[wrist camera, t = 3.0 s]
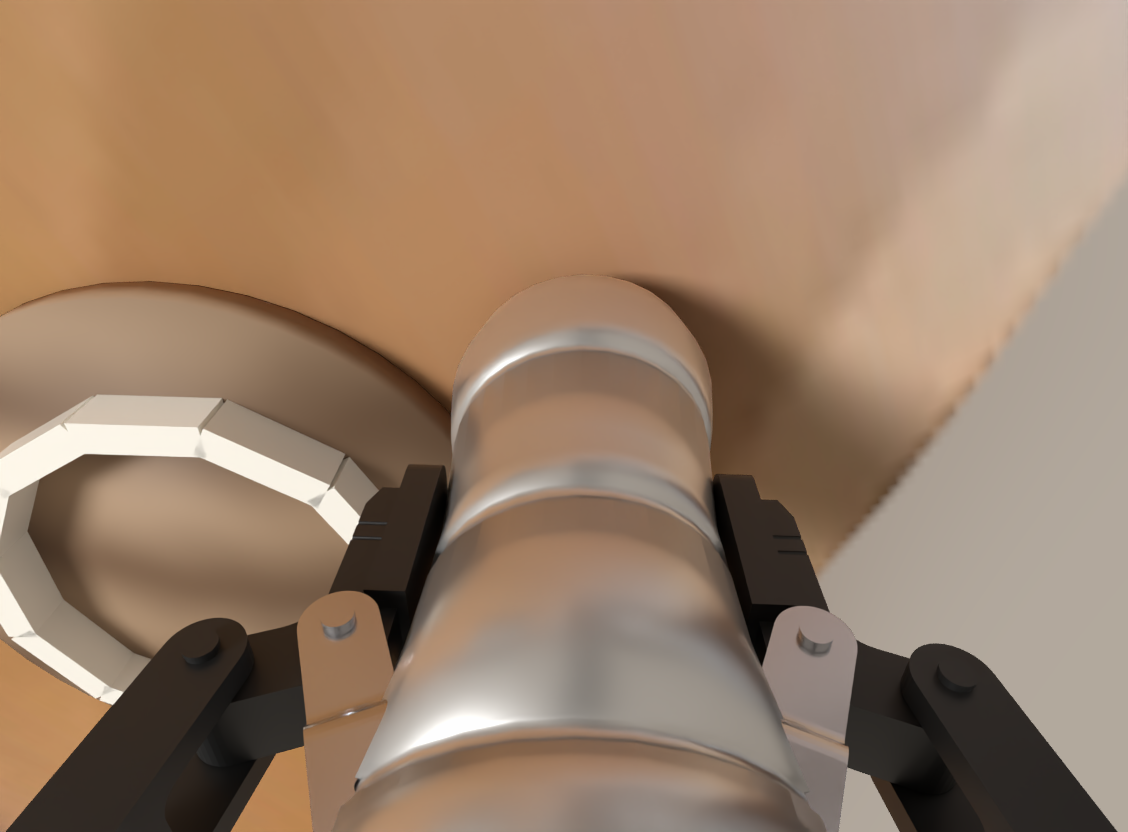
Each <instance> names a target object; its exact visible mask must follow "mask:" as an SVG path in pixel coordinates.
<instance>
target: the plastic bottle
mask: <svg viewBox="0 0 1128 832" xmlns="http://www.w3.org/2000/svg"><path fill="white" fill-rule="evenodd" d="M712 423H713V406H712V381H711V377H710V373H709V368H708V364H707V360H706V358H705V356H704V354H703V352H702V350H701V348H700V346H699V344H698V342H697V340H696V339H695V338H694V336H693V335H692V334H691V332H690V331H689V330H688V328H687V327H686V326H685V324H684V323H683V322H682V320H681V319H680V318H679V317H678V316H677V314H676V313H675V312H674V311H673V310H672V309H671V307H670V306H669V305H668V304H666V303H665V302H664V301H662V300H661V299H660V298H659V297H657V296H656V295H655V294H653V293H652V292H650V291H648V290H646V289H644V288H642V287H640V286H638V285H636V284H634V283H632V282H629V281H625V280H621V279H617V278H613V277H610V276H601V275H587V274H581V275H572V276H563V277H557V278H554V279H550V280H547V281H544V282H541V283H537V284H535V285H533V286H531V287H529V288H527V289H525V290H523V291H521V292H519V293H517V294H515V295H514V296H513V297H512V298H510V299H509V300H508V301H506V302H505V303H504V304H503V305H501V306H500V307H499V308H498V309H497V310H496V311H495V312H494V313H493V315H492V316H491V317H490V318H489V319H488V320H487V322H486V323H485V324H484V325H483V327H482V328H481V329H480V331H479V332H478V333H477V335H476V336H475V337H474V339H473V340H472V341H471V343H470V344H469V346H468V348H467V349H466V351H465V353H464V355H463V357H462V359H461V361H460V363H459V365H458V369H457V373H456V377H455V381H454V384H453V395H452V409H451V444H452V454H453V456H452V463H451V470H450V478H449V485H448V492H447V499H446V506H445V514H444V521H443V528H442V534H441V537H440V540H439V542H438V545H437V548H436V551H435V555H434V558H433V562H432V565H431V569H430V572H429V574H428V575H427V578H426V581H425V584H424V587H423V590H422V593H421V596H420V599H419V602H418V605H417V609H416V612H415V615H414V618H413V621H412V624H411V627H410V630H409V633H408V636H407V639H406V642H405V645H404V647H403V649H402V651H401V654H400V656H399V658H398V660H397V662H396V665H395V667H394V669H393V670H394V674H393V676H392V678H391V680H390V683H389V685H388V687H387V689H386V691H385V694H384V696H383V698H382V701H383V700H387V702H388V703H387V708H386V711H385V713H384V716H383V718H382V720H381V722H380V724H379V727H378V729H377V731H376V733H375V735H374V737H373V739H372V742H371V744H370V746H369V748H368V750H367V752H366V755H365V757H364V759H363V761H362V763H361V765H360V767H359V770H358V772H357V774H356V776H355V777H356V778H358V783H357V784H356V787H355V794H354V796H353V797H352V798H351V799H350V800H348V801H347V802H346V803H345V804H343V805H342V806H341V807H340V809H339V812H338V815H337V818H336V821H335V823H334V826H333V829H332V832H827V830H826V827H825V824H824V822H823V820H822V819H821V817H820V816H819V815H818V814H817V813H816V812H815V811H813V810H812V809H811V808H810V806H809V803H808V801H807V799H806V796H805V794H804V792H809V791H810V790H809V788H808V786H807V783H806V781H805V779H804V776H803V774H802V772H801V769H800V767H799V765H798V762H797V760H796V757H795V755H794V753H793V750H792V748H791V746H790V743H789V741H788V739H787V736H786V734H785V731H784V729H783V726H782V723H781V719H782V720H784V718H783V716H782V713H781V711H780V709H779V706H778V704H777V702H776V699H775V697H774V695H773V692H772V690H771V688H770V685H769V683H768V681H767V678H766V676H765V674H764V671H763V669H762V666H761V664H760V662H759V659H758V657H757V655H756V652H755V650H754V648H753V645H752V642H751V639H750V636H749V632H748V629H747V626H746V622H745V619H744V616H743V612H742V609H741V606H740V602H739V599H738V596H737V592H736V589H735V586H734V582H733V579H732V576H731V573H730V571H729V568H728V564H727V561H726V557H725V553H724V549H723V546H722V543H721V540H720V536H719V533H718V527H717V518H716V508H715V499H714V489H713V480H712V470H711V460H710V447H711V439H712Z"/></svg>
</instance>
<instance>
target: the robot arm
mask: <svg viewBox="0 0 1128 832" xmlns="http://www.w3.org/2000/svg"><path fill="white" fill-rule="evenodd" d="M713 489H714V499H715V508H716V518H717V527H718V533H719V536H720V540H721V543H722V546H723V549H724V553H725V557H726V561H727V564H728V568H729V571H730V573H731V576H732V579H733V582H734V586H735V589H736V592H737V596H738V599H739V602H740V606H741V609H742V612H743V616H744V619H745V622H746V626H747V629H748V632H749V636H750V639H751V642H752V645H753V648H754V650H755V652H756V655H757V657H758V659H759V662H760V664H761V666H762V669H763V671H764V674H765V676H766V678H767V681H768V683H769V685H770V688H771V690H772V692H773V695H774V697H775V699H776V702H777V704H778V706H779V709H780V711H781V713H782V716H783V718H784V720H782V719H781V723H782V726H783V729H784V731H785V734H786V736H787V739H788V741H789V743H790V746H791V748H792V750H793V753H794V755H795V757H796V760H797V762H798V765H799V767H800V769H801V772H802V774H803V776H804V779H805V781H806V783H807V786H808V788H809V790H810V791H809V792H804V794H805V796H806V799H807V801H808V803H809V806H810V808H811V809H812V810H813V811H815V812H816V813H817V814H818V815H819V816H820V817H821V819H822V820H823V822H824V824H825V827H826V830H827V832H838V831H839V824H840V817H841V809H842V802H843V794H844V787H845V780H846V772H847V767H848V768H851V769H854V770H856V771H859V772H862V773H865V774H868V775H870V776H871V778H872V780H873V782H874V784H875V786H876V788H877V790H878V792H879V793H880V795H881V797H882V799H883V801H884V803H885V805H886V807H887V808H888V810H889V812H890V814H891V816H892V818H893V820H894V822H895V823H896V826H897V827H898V829H899V831H900V832H1117V831H1116V829H1115V828H1114V827H1113V826H1112V824H1111V823H1110V822H1109V820H1108V819H1107V818H1106V817H1105V815H1104V814H1103V813H1102V812H1101V810H1100V809H1099V808H1098V806H1097V805H1096V804H1095V803H1094V801H1093V800H1092V799H1091V797H1090V796H1089V795H1088V794H1087V792H1086V791H1085V790H1084V789H1083V787H1082V786H1081V785H1080V783H1079V782H1078V781H1077V780H1076V778H1075V777H1074V776H1073V774H1072V773H1071V772H1070V770H1069V769H1068V768H1067V767H1066V765H1065V764H1064V763H1063V762H1062V760H1061V759H1060V758H1059V756H1058V755H1057V754H1056V753H1055V751H1054V750H1053V749H1052V747H1051V746H1050V745H1049V744H1048V742H1047V741H1046V740H1045V739H1044V737H1043V736H1042V735H1041V733H1040V732H1039V731H1038V730H1037V728H1036V727H1035V726H1034V724H1033V723H1032V722H1031V721H1030V719H1029V718H1028V717H1027V716H1026V714H1025V713H1024V712H1023V710H1022V709H1021V708H1020V706H1019V705H1018V704H1017V703H1016V701H1015V700H1014V699H1013V698H1012V696H1011V695H1010V694H1009V693H1008V691H1007V690H1006V689H1005V687H1004V686H1003V685H1002V683H1001V682H1000V681H999V680H998V678H997V677H996V676H995V674H994V673H993V672H992V671H991V670H990V669H989V668H988V667H987V666H986V665H985V664H984V663H983V662H982V661H980V660H979V659H978V658H976V657H975V656H973V655H971V654H970V653H968V652H966V651H964V650H961V649H959V648H956V647H953V646H949V645H945V644H927V645H923V646H921V647H919V648H918V649H916V650H915V651H914V652H913V653H912V655H911V657H910V659H909V658H906V657H903V656H899V655H896V654H892V653H889V652H885V651H882V650H879V649H876V648H873V647H870V646H867V645H865V644H863V643H861V642H859V641H857V640H856V639H855V636H854V634H853V632H852V631H851V629H850V628H849V627H848V626H847V625H846V624H845V623H844V622H843V621H842V620H841V619H839V618H838V617H836V616H835V615H833V614H831V613H830V612H829V610H828V607H827V604H826V601H825V599H824V597H823V594H822V591H821V588H820V586H819V583H818V580H817V578H816V575H815V572H814V570H813V567H812V564H811V562H810V559H809V556H808V555H807V551H806V548H805V546H804V543H803V540H801V535H800V532H799V530H798V527H797V524H796V522H795V519H794V517H793V516H792V515H791V514H790V513H789V512H788V511H787V510H786V509H785V508H784V507H783V506H782V505H781V503H780V502H779V501H778V500H761V499H760V496H759V493H758V490H757V487H756V484H755V480H754V478H753V476H752V475H726V474H716V475H715V477H714V480H713ZM447 492H448V485H447V475H446V469H445V466H444V465H424V464H409V465H408V466H407V469H406V471H405V474H404V477H403V480H402V482H401V485H400V488H391V487H382V488H381V489H380V490H379V491H378V492H377V493H376V494H375V495H374V496H373V497H372V498H371V499H370V500H369V501H367V502H366V504H365V506H364V509H363V511H362V514H361V516H360V519H359V521H358V522H359V523H358V525H357V526H356V528H355V531H354V533H353V536H352V540H350V543H349V545H348V548H347V550H346V553H345V555H344V557H343V560H342V562H341V565H340V567H339V570H338V572H337V574H336V577H335V579H334V582H333V584H332V586H331V589H330V591H329V594H328V595H326V596H324V597H321V598H320V599H318V600H316V601H315V602H313V603H312V604H311V605H310V606H309V607H308V608H307V609H306V610H305V611H304V612H303V614H302V615H301V617H300V619H299V621H298V622H296V623H293V624H291V625H288V626H284V627H281V628H276V629H272V630H267V631H263V632H259V633H254V634H250V635H247V633H246V631H245V629H244V627H243V626H242V625H241V624H240V623H238V622H236V621H235V620H232V619H228V618H209V619H204V620H201V621H198V622H195V623H193V624H190V625H188V626H186V627H184V628H183V629H181V630H180V631H178V632H177V633H175V634H174V635H173V636H172V637H171V638H170V639H169V640H168V641H167V642H166V643H165V644H164V645H163V646H162V647H161V649H160V650H159V651H158V652H157V653H156V655H155V656H154V657H153V658H152V659H151V660H150V662H149V663H148V664H147V665H146V666H145V668H144V669H143V670H142V671H141V672H140V673H139V675H138V676H137V677H136V678H135V679H134V681H133V682H132V683H131V684H130V685H129V686H128V688H127V689H126V690H125V691H124V692H123V694H122V695H121V696H120V697H119V698H118V699H117V701H116V702H115V703H114V704H113V705H112V707H111V708H110V709H109V710H108V711H107V712H106V714H105V715H104V716H103V717H102V718H101V720H100V721H99V722H98V723H97V724H96V725H95V727H94V728H93V729H92V730H91V731H90V733H89V734H88V735H87V736H86V737H85V738H84V740H83V741H82V742H81V743H80V744H79V746H78V747H77V748H76V749H75V750H74V751H73V753H72V754H71V755H70V756H69V757H68V759H67V760H66V761H65V762H64V763H63V764H62V766H61V767H60V768H59V769H58V770H57V772H56V773H55V774H54V775H53V776H52V777H51V779H50V780H49V781H48V782H47V783H46V785H45V786H44V787H43V788H42V789H41V790H40V792H39V793H38V794H37V795H36V796H35V798H34V799H33V800H32V801H31V802H30V803H29V805H28V806H27V807H26V808H25V809H24V811H23V812H22V813H21V814H20V815H19V816H18V818H17V819H16V820H15V821H14V822H13V824H12V825H11V826H10V827H9V828H8V829H7V831H6V832H231V830H232V828H233V826H234V825H235V823H236V821H237V820H238V818H239V816H240V814H241V813H242V811H243V809H244V808H245V806H246V804H247V803H248V801H249V799H250V797H251V796H252V794H253V792H254V791H255V789H256V787H257V785H258V784H259V782H260V780H261V779H262V777H263V775H264V773H265V772H266V770H267V768H268V767H269V765H270V763H271V761H272V760H273V758H274V756H275V755H276V753H280V752H284V751H287V750H291V749H295V748H298V747H302V746H304V748H305V758H306V768H307V777H308V787H309V797H310V807H311V817H312V827H313V832H332V829H333V826H334V823H335V821H336V818H337V815H338V812H339V809H340V807H341V806H342V805H343V804H345V803H346V802H347V801H348V800H350V799H351V798H352V797H353V796H354V794H355V787H356V784H357V783H358V778H356V777H355V776H356V774H357V772H358V770H359V767H360V765H361V763H362V761H363V759H364V757H365V755H366V752H367V750H368V748H369V746H370V744H371V742H372V739H373V737H374V735H375V733H376V731H377V729H378V727H379V724H380V722H381V720H382V718H383V716H384V713H385V711H386V708H387V703H388V702H387V700H383V701H382V698H383V696H384V694H385V691H386V689H387V687H388V685H389V683H390V680H391V678H392V676H393V674H394V670H393V669H394V667H395V665H396V662H397V660H398V658H399V656H400V654H401V651H402V649H403V647H404V645H405V642H406V639H407V636H408V633H409V630H410V627H411V624H412V621H413V618H414V615H415V612H416V609H417V605H418V602H419V599H420V596H421V593H422V590H423V587H424V584H425V581H426V578H427V575H428V574H429V572H430V569H431V565H432V562H433V558H434V555H435V551H436V548H437V545H438V542H439V540H440V537H441V534H442V528H443V521H444V514H445V506H446V499H447Z"/></svg>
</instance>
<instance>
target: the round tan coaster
mask: <svg viewBox="0 0 1128 832" xmlns="http://www.w3.org/2000/svg"><path fill="white" fill-rule="evenodd" d="M96 395H129V396H163V397H197V398H222V400H223V403H225V402H226V401H227V400H229V401H232V402H234V403H236V404H238V405H240V406H242V407H245V408H247V409H249V410H251V411H253V412H255V413H258V414H260V415H262V416H264V417H266V418H268V419H271V420H273V421H275V422H277V423H279V424H282V425H284V426H286V427H288V428H290V429H292V430H295V431H297V432H299V433H301V434H303V435H305V436H308V437H310V438H312V439H314V440H316V441H318V442H321V443H323V444H325V445H327V446H329V447H331V448H334V449H336V450H338V451H340V452H342V453H344V454H345V456H344V458H343V460H344V459H346V458H348V457H350V458H351V459H352V460H353V462H354V463H355V464H356V465H357V466H358V467H359V468H360V470H361V471H362V472H363V473H364V474H365V475H366V476H367V478H368V479H369V480H370V481H371V482H372V483H373V484H374V486H375V487H376V488H377V489H378V490H380V489H381V488H382V487H391V488H400V485H401V482H402V480H403V477H404V474H405V471H406V469H407V466H408V465H409V464H424V465H444V466H445V469H446V475H447V485H449V478H450V470H451V463H452V456H453V454H452V444H451V415H450V414H449V412H448V411H447V410H446V409H445V408H444V407H443V406H442V405H441V404H440V403H438V402H437V401H436V400H435V399H434V398H433V397H432V396H431V395H430V394H429V393H428V392H427V391H425V390H424V389H423V388H422V387H421V386H420V385H419V384H418V383H417V382H416V381H415V380H413V379H412V378H410V377H409V376H408V375H406V374H405V373H404V372H402V371H401V370H399V369H398V368H397V367H395V366H394V365H393V364H391V363H390V362H388V361H387V360H386V359H384V358H383V357H382V356H380V355H379V354H377V353H376V352H374V351H372V350H370V349H369V348H367V347H365V346H364V345H362V344H360V343H358V342H357V341H355V340H353V339H351V338H350V337H348V336H346V335H344V334H343V333H341V332H339V331H337V330H335V329H333V328H331V327H329V326H326V325H324V324H322V323H320V322H317V321H315V320H313V319H311V318H308V317H306V316H304V315H301V314H299V313H297V312H295V311H292V310H289V309H286V308H283V307H280V306H277V305H274V304H271V303H268V302H264V301H261V300H258V299H255V298H252V297H249V296H246V295H241V294H236V293H231V292H227V291H222V290H217V289H212V288H207V287H202V286H197V285H186V284H174V283H163V282H152V281H145V282H117V283H101V284H95V285H90V286H84V287H78V288H73V289H67V290H62V291H59V292H56V293H53V294H50V295H47V296H44V297H41V298H38V299H35V300H32V301H29V302H26V303H23V304H22V305H20V306H18V307H16V308H14V309H12V310H11V311H9V312H7V313H5V314H3V315H1V316H0V453H1V452H2V451H3V450H4V449H5V448H7V447H8V446H9V445H10V444H12V443H13V442H15V441H17V440H18V439H20V438H22V437H23V436H25V435H27V434H29V433H30V432H32V431H34V430H35V429H37V428H39V427H40V426H42V425H44V424H45V423H47V422H49V421H51V420H52V419H54V418H56V417H57V416H59V415H61V414H62V413H64V412H66V411H68V410H69V409H71V408H73V407H74V406H76V405H78V404H79V403H81V402H83V401H84V400H86V399H88V398H90V397H91V396H94V397H95V396H96ZM27 532H28V534H29V535H30V537H31V539H32V541H33V543H34V545H35V547H36V549H37V550H38V552H39V554H40V556H41V558H42V560H43V562H44V564H45V566H46V567H47V569H48V571H49V573H50V575H51V577H52V579H53V581H54V583H55V584H56V586H57V588H58V590H59V592H60V594H61V596H62V598H63V599H64V600H65V601H66V602H67V603H69V604H70V605H71V606H73V607H74V608H75V609H77V610H78V611H79V612H80V613H82V614H83V615H84V616H86V617H87V618H88V619H90V620H91V621H92V622H94V623H95V624H96V625H98V626H99V627H100V628H101V629H103V630H104V631H105V632H107V633H108V634H109V635H111V636H112V637H113V638H115V639H116V640H117V641H119V642H120V643H121V644H122V645H124V646H125V647H126V648H128V649H129V650H130V651H132V652H133V653H135V654H138V655H141V656H144V657H147V658H149V659H152V658H153V657H154V656H155V655H156V653H157V652H158V651H159V650H160V649H161V647H162V646H163V645H164V644H165V643H166V642H167V641H168V640H169V639H170V638H171V637H172V636H173V635H174V634H175V633H177V632H178V631H180V630H181V629H183V628H184V627H186V626H188V625H190V624H193V623H195V622H198V621H201V620H204V619H209V618H228V619H232V620H235V621H236V622H238V623H240V624H241V625H242V626H243V627H244V629H245V631H246V633H247V635H250V634H254V633H259V632H263V631H267V630H272V629H276V628H281V627H284V626H288V625H291V624H293V623H296V622H298V621H299V619H300V617H301V615H302V614H303V612H304V611H305V610H306V609H307V608H308V607H309V606H310V605H311V604H312V603H313V602H315V601H316V600H318V599H320V598H321V597H324V596H326V595H328V594H329V591H330V589H331V586H332V584H333V582H334V579H335V577H336V574H337V572H338V570H339V567H340V565H341V562H342V560H343V557H344V555H345V553H346V550H347V548H348V544H347V543H346V542H345V541H344V539H343V538H342V537H341V536H340V535H339V534H338V533H337V532H336V531H335V530H334V529H333V528H332V527H331V526H330V525H329V524H328V523H327V522H326V521H325V520H324V519H323V517H322V516H321V515H320V514H319V513H318V512H317V511H316V510H315V509H314V508H313V507H312V506H311V505H309V504H306V503H304V502H302V501H299V500H297V499H295V498H293V497H290V496H288V495H286V494H283V493H281V492H279V491H276V490H274V489H272V488H269V487H267V486H265V485H263V484H260V483H258V482H256V481H253V480H251V479H249V478H246V477H244V476H242V475H240V474H237V473H235V472H233V471H230V470H228V469H226V468H223V467H221V466H219V465H217V464H214V463H212V462H210V461H207V460H205V459H203V458H200V457H171V456H139V455H106V454H83V455H82V456H80V457H78V458H76V459H74V460H73V461H71V462H69V463H67V464H65V465H64V466H62V467H60V468H58V469H56V470H55V471H53V472H51V473H49V474H48V475H46V476H44V477H42V478H40V480H39V484H38V488H37V492H36V497H35V501H34V505H33V509H32V514H31V518H30V522H29V527H28V531H27ZM12 638H13V637H8V635H7V634H6V632H5V630H4V629H3V627H2V625H1V624H0V639H1V640H2V641H4V642H5V643H6V644H8V645H9V646H10V647H12V648H13V649H14V650H16V651H17V652H18V653H20V654H21V655H22V656H23V657H25V658H26V659H27V660H29V661H31V662H32V663H34V664H35V665H37V666H38V667H40V668H42V669H43V670H45V671H46V672H48V673H49V674H51V675H53V676H54V677H56V678H57V679H59V680H61V681H63V682H65V683H67V684H68V685H70V686H72V687H74V688H76V689H78V690H80V691H82V692H83V693H85V694H87V695H89V696H91V695H90V694H89V693H87V692H86V691H84V690H83V689H81V688H80V687H79V686H77V685H76V684H74V683H73V682H71V681H70V680H69V679H67V678H66V677H64V676H63V675H61V674H60V673H59V672H57V671H56V670H54V669H53V668H51V667H50V666H49V665H47V664H46V663H44V662H43V661H41V660H40V659H39V658H37V657H36V656H34V655H33V654H31V653H30V652H29V651H27V650H26V649H24V648H23V647H21V646H20V645H19V644H17V643H16V642H14V641H13V640H11V639H12ZM91 697H93V696H91ZM100 698H101V696H100V697H98V698H96V699H98V700H100ZM105 703H106V702H105ZM107 704H109V703H107ZM109 705H111V706H112V704H109Z"/></svg>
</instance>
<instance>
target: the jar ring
mask: <svg viewBox="0 0 1128 832" xmlns="http://www.w3.org/2000/svg"><path fill="white" fill-rule="evenodd" d="M83 454H106V455H139V456H171V457H200V458H203V459H205V460H207V461H210V462H212V463H214V464H217V465H219V466H221V467H223V468H226V469H228V470H230V471H233V472H235V473H237V474H240V475H242V476H244V477H246V478H249V479H251V480H253V481H256V482H258V483H260V484H263V485H265V486H267V487H269V488H272V489H274V490H276V491H279V492H281V493H283V494H286V495H288V496H290V497H293V498H295V499H297V500H299V501H302V502H304V503H306V504H309V505H311V506H312V507H313V508H314V509H315V510H316V511H317V512H318V513H319V514H320V515H321V516H322V517H323V519H324V520H325V521H326V522H327V523H328V524H329V525H330V526H331V527H332V528H333V529H334V530H335V531H336V532H337V533H338V534H339V535H340V536H341V537H342V538H343V539H344V541H345V542H346V543H347V544H348V545H349V543H350V540H352V536H353V533H354V531H355V528H356V526H357V525H358V523H359V522H358V521H359V519H360V516H361V514H362V511H363V509H364V506H365V504H366V502H367V501H369V500H370V499H371V498H372V497H373V496H374V495H375V494H376V493H377V492H378V491H379V490H378V489H377V488H376V487H375V486H374V484H373V483H372V482H371V481H370V480H369V479H368V478H367V476H366V475H365V474H364V473H363V472H362V471H361V470H360V468H359V467H358V466H357V465H356V464H355V463H354V462H353V460H352V459H351V458H350V457H348V458H346V459H344V460H343V458H344V456H345V454H344V453H342V452H340V451H338V450H336V449H334V448H331V447H329V446H327V445H325V444H323V443H321V442H318V441H316V440H314V439H312V438H310V437H308V436H305V435H303V434H301V433H299V432H297V431H295V430H292V429H290V428H288V427H286V426H284V425H282V424H279V423H277V422H275V421H273V420H271V419H268V418H266V417H264V416H262V415H260V414H258V413H255V412H253V411H251V410H249V409H247V408H245V407H242V406H240V405H238V404H236V403H234V402H232V401H229V400H227V401H226V402H225V403H223V400H222V398H197V397H163V396H129V395H96V396H95V397H94V396H91V397H90V398H88V399H86V400H84V401H83V402H81V403H79V404H78V405H76V406H74V407H73V408H71V409H69V410H68V411H66V412H64V413H62V414H61V415H59V416H57V417H56V418H54V419H52V420H51V421H49V422H47V423H45V424H44V425H42V426H40V427H39V428H37V429H35V430H34V431H32V432H30V433H29V434H27V435H25V436H23V437H22V438H20V439H18V440H17V441H15V442H13V443H12V444H10V445H9V446H8V447H7V448H5V449H4V450H3V451H2V452H1V453H0V624H1V625H2V627H3V629H4V630H5V632H6V634H7V635H8V637H13V638H12V639H11V640H13V641H14V642H16V643H17V644H19V645H20V646H21V647H23V648H24V649H26V650H27V651H29V652H30V653H31V654H33V655H34V656H36V657H37V658H39V659H40V660H41V661H43V662H44V663H46V664H47V665H49V666H50V667H51V668H53V669H54V670H56V671H57V672H59V673H60V674H61V675H63V676H64V677H66V678H67V679H69V680H70V681H71V682H73V683H74V684H76V685H77V686H79V687H80V688H81V689H83V690H84V691H86V692H87V693H89V694H90V695H91V696H93V697H94V698H98V697H100V696H101V698H100V701H103V702H106V703H109V704H112V705H113V704H114V703H115V702H116V701H117V699H118V698H119V697H120V696H121V695H122V694H123V692H124V691H125V690H126V689H127V688H128V686H129V685H130V684H131V683H132V682H133V681H134V679H135V678H136V677H137V676H138V675H139V673H140V672H141V671H142V670H143V669H144V668H145V666H146V665H147V664H148V663H149V662H150V660H151V659H149V658H147V657H144V656H141V655H138V654H135V653H133V652H132V651H130V650H129V649H128V648H126V647H125V646H124V645H122V644H121V643H120V642H119V641H117V640H116V639H115V638H113V637H112V636H111V635H109V634H108V633H107V632H105V631H104V630H103V629H101V628H100V627H99V626H98V625H96V624H95V623H94V622H92V621H91V620H90V619H88V618H87V617H86V616H84V615H83V614H82V613H80V612H79V611H78V610H77V609H75V608H74V607H73V606H71V605H70V604H69V603H67V602H66V601H65V600H64V599H63V598H62V596H61V594H60V592H59V590H58V588H57V586H56V584H55V583H54V581H53V579H52V577H51V575H50V573H49V571H48V569H47V567H46V566H45V564H44V562H43V560H42V558H41V556H40V554H39V552H38V550H37V549H36V547H35V545H34V543H33V541H32V539H31V537H30V535H29V534H28V532H27V531H28V527H29V522H30V518H31V514H32V509H33V505H34V501H35V497H36V492H37V488H38V484H39V480H40V478H42V477H44V476H46V475H48V474H49V473H51V472H53V471H55V470H56V469H58V468H60V467H62V466H64V465H65V464H67V463H69V462H71V461H73V460H74V459H76V458H78V457H80V456H82V455H83Z"/></svg>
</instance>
